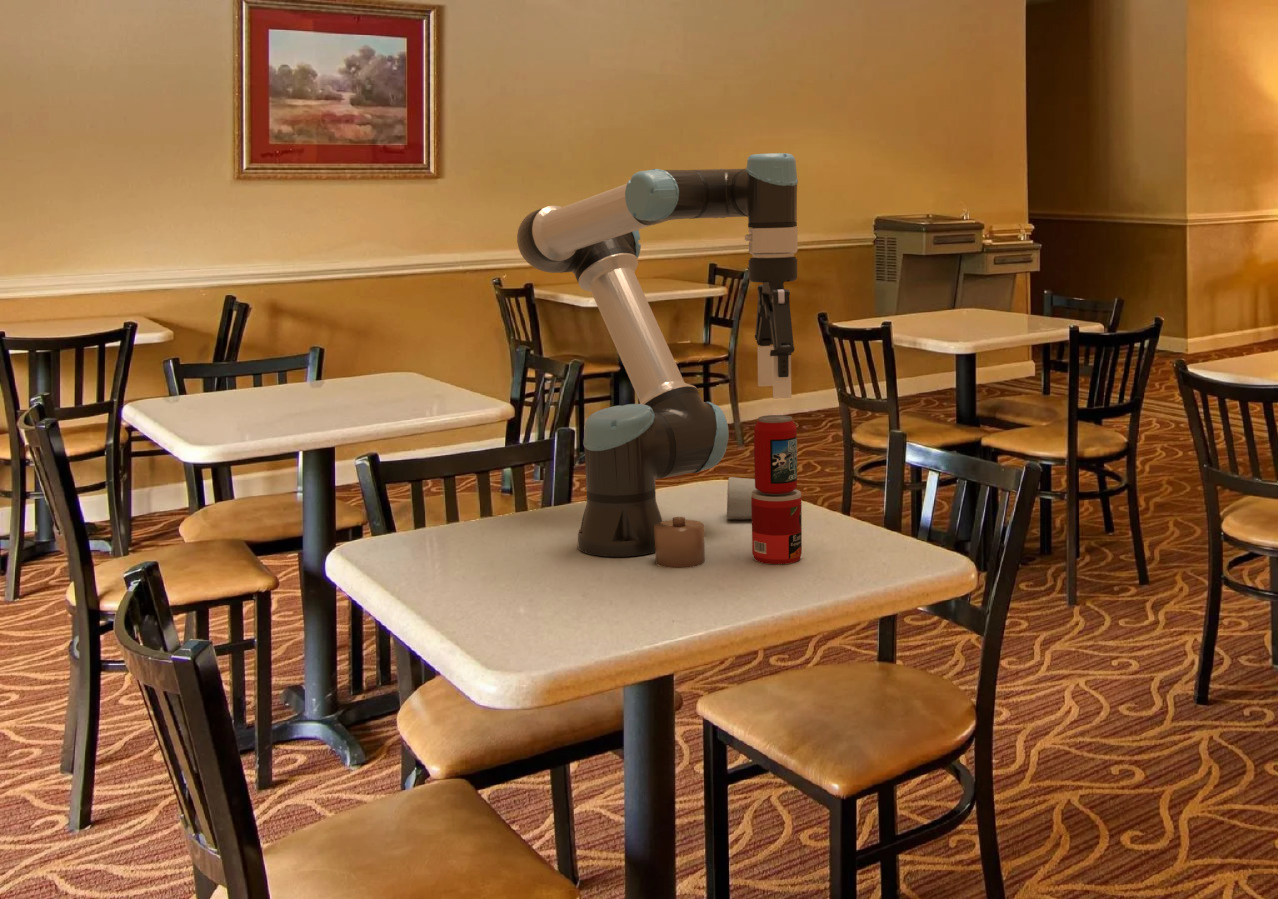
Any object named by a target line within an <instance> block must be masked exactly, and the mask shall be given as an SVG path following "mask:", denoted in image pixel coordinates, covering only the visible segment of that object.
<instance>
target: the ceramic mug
mask: <svg viewBox="0 0 1278 899" xmlns="http://www.w3.org/2000/svg"><path fill="white" fill-rule="evenodd" d="M754 490H756V488H755V478H748V477H747V478H746V477H744V478H743V477H734V476H731V477H728V478H727V497H726V498H727V499H726V500H727V501H726V519H727V520H742V521H744V520H752V512H751V496H752V491H754Z"/></svg>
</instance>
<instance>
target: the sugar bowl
mask: <svg viewBox="0 0 1278 899" xmlns="http://www.w3.org/2000/svg"><path fill="white" fill-rule="evenodd" d="M662 521H663V520H662ZM654 535H655V552H654V560H655V561H654V562H655V564H656V565H657V566H660V567H663V568H669V569H688V568H694V567H698V566H702V565H703V564H704V563H705V560H706V555H705V554H706V552H705V549H706V548H705V524H704V523H703V522H702V521H699V520H698V521H697V520H693V519H686V517H684V516H675V517H673V518H672V519H670V520H664V521H663V522H659V523H657V524H655V525H654Z"/></svg>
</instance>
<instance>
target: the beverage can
mask: <svg viewBox="0 0 1278 899" xmlns="http://www.w3.org/2000/svg"><path fill="white" fill-rule="evenodd" d="M797 430H798V429H797V425H796V424H795V423H794V421H793V417H792V416H790V415H784V414H783V415H782V414H769V415H762V416H759V417H758V418H757V422H756V423H755V425H754V427H753V437H754V438H753V450H754V451H753V452H754V454H753V456H754V457H753V458H754V459H753V460H754V461H753V464H754V465H753V466H754V469H753V470H754V479H755V488H756V489H757V490H759V491H760V492H761V493H763V494H767V495H784V494H789V493H791V492H792V491H793V490H795V489H796V490H797V488H798V439H797V438H798V437H797V436H798V434H797V433H798V432H797Z"/></svg>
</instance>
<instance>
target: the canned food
mask: <svg viewBox="0 0 1278 899" xmlns="http://www.w3.org/2000/svg"><path fill="white" fill-rule="evenodd" d="M802 504H803V503H802V491H800V490H798V489H797V488H796V489H795V490H793V491H792V492H791V493H789V494H784V495H767V494H763V493H761V492H760V491H759V490H757V489H756V490H754V491H752V496H751V512H752V519H751V548H752V549H751V552H752V553H751V554H752V557H753V559H754V560H755V561H756V562H758V563H761V564H767V565H788V564H794V563H796V562H798V561H800V560H801V557H802V554H803V552H802V550H803V549H802V548H803V547H802V546H803V545H802V544H803V543H802V542H803V540H802V539H803V538H802V537H803V535H802V534H803V533H802V532H803V531H802V529H803V528H802V522H803V521H802V520H803V519H802V510H803V509H802Z"/></svg>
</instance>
